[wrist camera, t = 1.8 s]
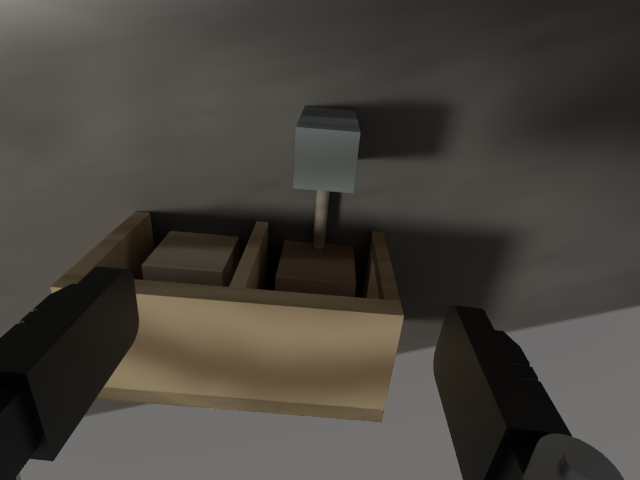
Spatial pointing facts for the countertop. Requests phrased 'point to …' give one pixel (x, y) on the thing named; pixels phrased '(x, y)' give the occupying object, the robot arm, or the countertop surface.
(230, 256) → the plain block
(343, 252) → the corded block
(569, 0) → the countertop surface
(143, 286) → the divided wooden crate
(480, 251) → the countertop surface
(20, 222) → the countertop surface
